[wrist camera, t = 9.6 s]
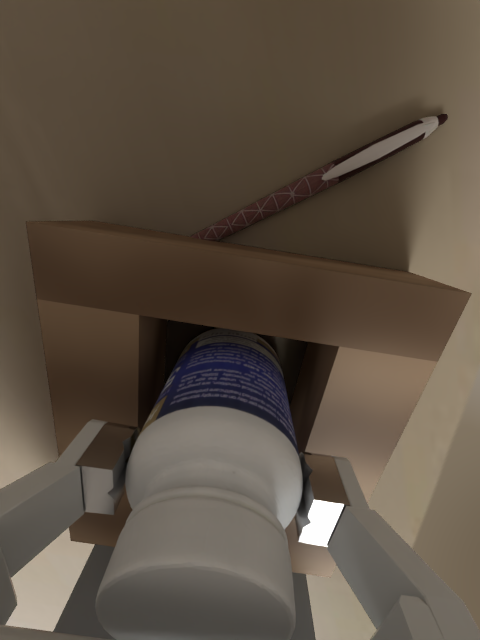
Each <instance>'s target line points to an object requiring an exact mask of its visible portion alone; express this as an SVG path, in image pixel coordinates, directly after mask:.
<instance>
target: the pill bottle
mask: <svg viewBox="0 0 480 640" xmlns="http://www.w3.org/2000/svg"><path fill="white" fill-rule="evenodd" d="M125 486H126V492H127V497H128V501H129V503H130V506H131V508H132V512H131V513H130V514H129V517H128V518H127V520H126V523H125V526H124V528H123V529H122V531H121V533H120V535H119V538H118V540H117V543H116V546H115V549H114V551H113V553H112V556H111V558H110V561H109V564H108V566H107V569H106V572H105V574H104V577H103V579H102V582H101V584H100V587H99V589H98V593H97V597H96V605H95V607H96V613H97V617H98V621H99V622H100V623H101V625H102V626H103V628H104V629H105V631H106V632H107V633H109V634H110V635H111V636H112V637H113V638H115V639H116V640H290V639H291V636H292V634H293V632H294V629H295V623H296V611H295V600H294V588H293V577H292V567H291V558H290V553H289V549H288V540H287V536H286V532H285V528H286V527H287V526H288V525H289V523H290V522H291V521H292V519H293V517H294V516H295V514H296V512H297V510H298V508H299V505H300V502H301V498H302V492H303V477H302V470H301V464H300V456H299V451H298V446H297V441H296V436H295V431H294V427H293V422H292V417H291V412H290V407H289V403H288V397H287V392H286V387H285V382H284V376H283V371H282V367H281V364H280V360H279V358H278V356H277V354H276V353H275V351H274V350H273V348H272V347H271V346H270V345H269V344H268V343H267V342H266V341H265V340H264V339H262V338H261V337H259V336H258V335H256V334H254V333H250V332H244V331H237V330H231V329H224V328H217V329H213V330H209V331H207V332H204V333H202V334H200V335H199V336H197V337H196V338H194V339H193V340H192V341H191V342H190V343H189V344H188V345H187V346H186V347H185V348H184V350H183V351H182V353H181V355H180V357H179V359H178V361H177V363H176V365H175V367H174V369H173V370H172V372H171V374H170V376H169V378H168V380H167V382H166V384H165V386H164V388H163V390H162V392H161V394H160V396H159V398H158V400H157V402H156V403H155V405H154V407H153V409H152V411H151V413H150V415H149V417H148V419H147V421H146V423H145V424H144V426H143V428H142V430H141V432H140V434H139V436H138V438H137V440H136V442H135V444H134V447H133V449H132V451H131V454H130V457H129V460H128V463H127V468H126V475H125Z"/></svg>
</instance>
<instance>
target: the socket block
mask: <svg viewBox="0 0 480 640" xmlns="http://www.w3.org/2000/svg"><path fill="white" fill-rule="evenodd" d="M26 226H27V233H28V240H29V248H30V255H31V262H32V269H33V276H34V283H35V290H36V297H37V304H38V311H39V318H40V325H41V332H42V340H43V347H44V354H45V361H46V368H47V375H48V382H49V389H50V396H51V403H52V410H53V417H54V425H55V432H56V439H57V446H58V453H59V457H60V456H61V455H62V453H63V452H64V451H65V450H66V448H67V447H68V446H69V445H70V443H71V442H72V441H73V440H74V438H75V437H76V436H77V435H78V434H79V432H80V431H81V430H82V429H83V427H84V426H85V425H86V424H87V423H88V422H89V421H91V420H92V419H94V420H99V421H105V422H112V423H118V424H124V425H129V426H135V427H139V428H140V432H141V430H142V428H143V426H144V424H145V423H146V421H147V419H148V417H149V415H150V413H151V411H152V409H153V407H154V405H155V403H156V402H157V400H158V398H159V396H160V394H161V392H162V390H163V388H164V375H165V356H166V337H167V320H173V321H180V322H186V323H192V324H199V325H205V326H212V327H218V328H224V329H231V330H237V331H244V332H250V333H256V334H263V335H269V336H275V337H282V338H288V339H295V340H301V341H307V342H308V344H307V348H306V351H305V355H304V358H303V362H302V366H301V369H300V373H299V376H298V380H297V384H296V387H295V391H294V394H293V398H292V402H291V405H290V412H291V417H292V422H293V427H294V431H295V436H296V441H297V446H298V451H299V454H300V452H301V451H302V452H309V453H316V454H324V455H330V456H337V457H344V458H347V459H348V460H349V461H350V463H351V465H352V468H353V470H354V473H355V475H356V477H357V480H358V482H359V485H360V487H361V489H362V492H363V494H364V497H365V499H366V502H367V503H368V501H369V499H370V497H371V495H372V493H373V491H374V489H375V487H376V485H377V483H378V481H379V479H380V477H381V475H382V473H383V471H384V469H385V467H386V465H387V463H388V461H389V459H390V457H391V455H392V453H393V451H394V449H395V447H396V445H397V443H398V441H399V439H400V437H401V435H402V433H403V431H404V429H405V427H406V425H407V423H408V421H409V419H410V417H411V415H412V413H413V411H414V409H415V407H416V405H417V403H418V401H419V399H420V396H421V394H422V392H423V390H424V388H425V386H426V384H427V382H428V380H429V378H430V376H431V374H432V372H433V370H434V368H435V366H436V364H437V362H438V360H439V358H440V356H441V354H442V352H443V350H444V348H445V346H446V344H447V342H448V340H449V338H450V336H451V334H452V332H453V330H454V328H455V326H456V324H457V322H458V320H459V318H460V316H461V314H462V312H463V310H464V308H465V306H466V304H467V302H468V300H469V298H470V296H471V294H472V293H469V292H466V291H463V290H460V289H457V288H454V287H451V286H448V285H445V284H442V283H440V282H437V281H434V280H431V279H428V278H425V277H422V276H419V275H416V274H413V273H410V272H405V271H399V270H393V269H387V268H381V267H375V266H368V265H362V264H356V263H350V262H344V261H338V260H331V259H325V258H319V257H313V256H307V255H301V254H294V253H288V252H282V251H276V250H270V249H263V248H257V247H251V246H245V245H239V244H233V243H226V242H220V241H209V240H202V239H197V238H192V237H189V236H183V235H177V234H171V233H165V232H159V231H152V230H146V229H140V228H134V227H128V226H121V225H115V224H109V223H103V222H97V221H32V222H26ZM131 512H132V508H131V506H130V503H129V501H128V497H127V492H126V486H125V493H124V495H123V497H122V499H121V501H120V503H119V506H118V508H117V510H116V512H115V514H114V515H109V514H100V513H91V512H84V514H83V515H82V516H81V517H80V518H79V519H77V520H76V521H75V522H74V523H73V524H72V525H71V526H69V531H70V538H71V541H76V542H83V543H90V544H97V545H104V546H111V547H115V546H116V543H117V540H118V538H119V535H120V533H121V531H122V529H123V528H124V526H125V523H126V520H127V518H128V517H129V514H130V513H131ZM295 515H296V514H295ZM285 532H286V536H287V540H288V549H289V553H290V558H291V567H292V572H295V573H302V574H309V575H316V576H323V577H330V578H331V576H332V574H333V572H334V570H335V568H336V566H337V564H336V563H335V561H334V560H333V558H332V556H331V555H330V553H329V551H328V550H327V547H325V546H320V545H314V544H308V543H303V542H298V536H297V529H296V523H295V516H294V517H293V519H292V521H291V522H290V523H289V525H288V526H287V527H286V528H285Z"/></svg>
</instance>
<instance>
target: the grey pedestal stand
mask: <svg viewBox="0 0 480 640" xmlns="http://www.w3.org/2000/svg"><path fill="white" fill-rule="evenodd" d="M114 549H115V547H111V546H104V545H97V544H95V546H94V548H93V550H92V552H91V554H90V556H89V558H88V560H87V562H86V564H85V566H84V569H83V571H82V573H81V575H80V577H79V579H78V581H77V583H76V585H75V587H74V589H73V591H72V594H71V596H70V598H69V600H68V602H67V604H66V606H65V608H64V610H63V612H62V614H61V616H60V619H59V621H58V623H57V625H56V627H55V629H54V631H53V632H58V633H65V634H73V635H80V636H87V637H95V638H102V639H110V640H116V639H115V638H113V637H112V636H111V635H110V634H109V633H107V632H106V631H105V629H104V628H103V626H102V625H101V623H100V622H99V621H98V617H97V613H96V607H95V605H96V597H97V593H98V589H99V587H100V584H101V582H102V579H103V577H104V574H105V572H106V569H107V566H108V564H109V561H110V558H111V556H112V553H113V551H114ZM292 577H293V588H294V600H295V611H296V623H295V629H294V632H293V634H292V636H291V639H290V640H316V639H315V632H314V626H313V619H312V612H311V606H310V599H309V593H308V586H307V580H306V574H302V573H295V572H292Z"/></svg>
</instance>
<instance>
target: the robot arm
mask: <svg viewBox="0 0 480 640" xmlns="http://www.w3.org/2000/svg"><path fill="white" fill-rule="evenodd" d="M139 434H140V428H139V427H135V426H129V425H124V424H118V423H112V422H105V421H99V420H94V419H92V420H91V421H89V422H88V423H87V424H86V425H85V426H84V427H83V429H82V430H81V431H80V432H79V434H78V435H77V436H76V437H75V438H74V440H73V441H72V442H71V443H70V445H69V446H68V447H67V448H66V450H65V451H64V452H63V453H62V455H61V456H60V457H59V458H58V459H57V461H56V462H55V463H53V462H49V463H47V464H45V465H44V466H42V467H40V468H38V469H36V470H34V471H33V472H31V473H29V474H27V475H25V476H24V477H22V478H20V479H18V480H16V481H14V482H13V483H11V484H9V485H7V486H5V487H4V488H2V489H0V640H110V639H102V638H95V637H87V636H80V635H73V634H65V633H58V632H51V631H43V630H36V629H28V628H21V627H14V626H6V625H5V624H6V622H7V621H8V619H9V617H10V616H11V614H12V612H13V611H14V609H15V607H16V606H17V597H16V593H15V590H14V587H13V584H12V580H11V577H12V576H13V575H15V574H16V573H17V572H18V571H19V570H20V569H21V568H23V567H24V566H25V565H26V564H27V563H28V562H29V561H31V560H32V559H33V558H34V557H35V556H36V555H37V554H39V553H40V552H41V551H42V550H43V549H44V548H45V547H47V546H48V545H49V544H50V543H51V542H52V541H53V540H55V539H56V538H57V537H58V536H59V535H60V534H61V533H63V532H64V531H65V530H66V529H67V528H68V527H69V526H71V525H72V524H73V523H74V522H75V521H76V520H77V519H79V518H80V517H81V516H82V515H83V514H84V512H91V513H100V514H109V515H114V514H115V512H116V510H117V508H118V506H119V503H120V501H121V499H122V497H123V495H124V493H125V475H126V468H127V463H128V460H129V457H130V454H131V451H132V449H133V447H134V444H135V442H136V440H137V438H138V436H139ZM299 456H300V464H301V470H302V477H303V492H302V498H301V502H300V505H299V508H298V510H297V512H296V515H295V523H296V529H297V536H298V542H303V543H308V544H314V545H320V546H325V547H327V550H328V551H329V553H330V555H331V556H332V558H333V560H334V561H335V563H336V564H337V566H338V568H339V569H340V571H341V572H342V574H343V576H344V577H345V579H346V581H347V582H348V584H349V585H350V587H351V589H352V590H353V592H354V593H355V595H356V597H357V598H358V600H359V602H360V603H361V605H362V606H363V608H364V610H365V611H366V613H367V614H368V616H369V618H370V619H371V621H372V623H373V624H374V626H375V627H376V629H377V630H376V632H375V633H374V635H373V636H372V638H371V639H370V640H480V631H479V629H478V627H477V625H476V623H475V621H474V619H473V618H472V616H471V614H470V612H469V610H468V609H467V607H466V606H465V603H464V602H463V601H462V600H461V599H460V598H459V597H458V596H457V595H456V594H455V593H454V591H452V589H451V588H450V587H449V586H447V584H446V583H445V582H444V581H443V580H442V579H441V578H440V577H439V576H438V575H437V574H436V573H435V572H434V571H433V570H432V569H431V568H430V567H429V566H428V565H427V564H426V563H425V562H424V561H423V559H422V558H421V557H420V556H419V555H418V554H416V552H415V551H414V550H413V549H412V548H411V547H410V546H409V545H408V544H407V543H406V542H405V541H404V540H403V539H402V538H401V537H400V536H399V535H398V534H397V533H396V532H395V531H394V530H393V529H392V527H391V526H390V525H389V524H388V523H387V522H386V521H385V520H384V519H383V518H382V517H381V516H380V515H379V514H378V513H377V512H376V511H375V510H371V509H369V506H368V504H367V502H366V499H365V497H364V494H363V492H362V489H361V487H360V485H359V482H358V480H357V477H356V475H355V473H354V470H353V468H352V465H351V463H350V461H349V460H348V459H347V458H344V457H337V456H330V455H324V454H316V453H309V452H302V451H301V452H300V454H299Z"/></svg>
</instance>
